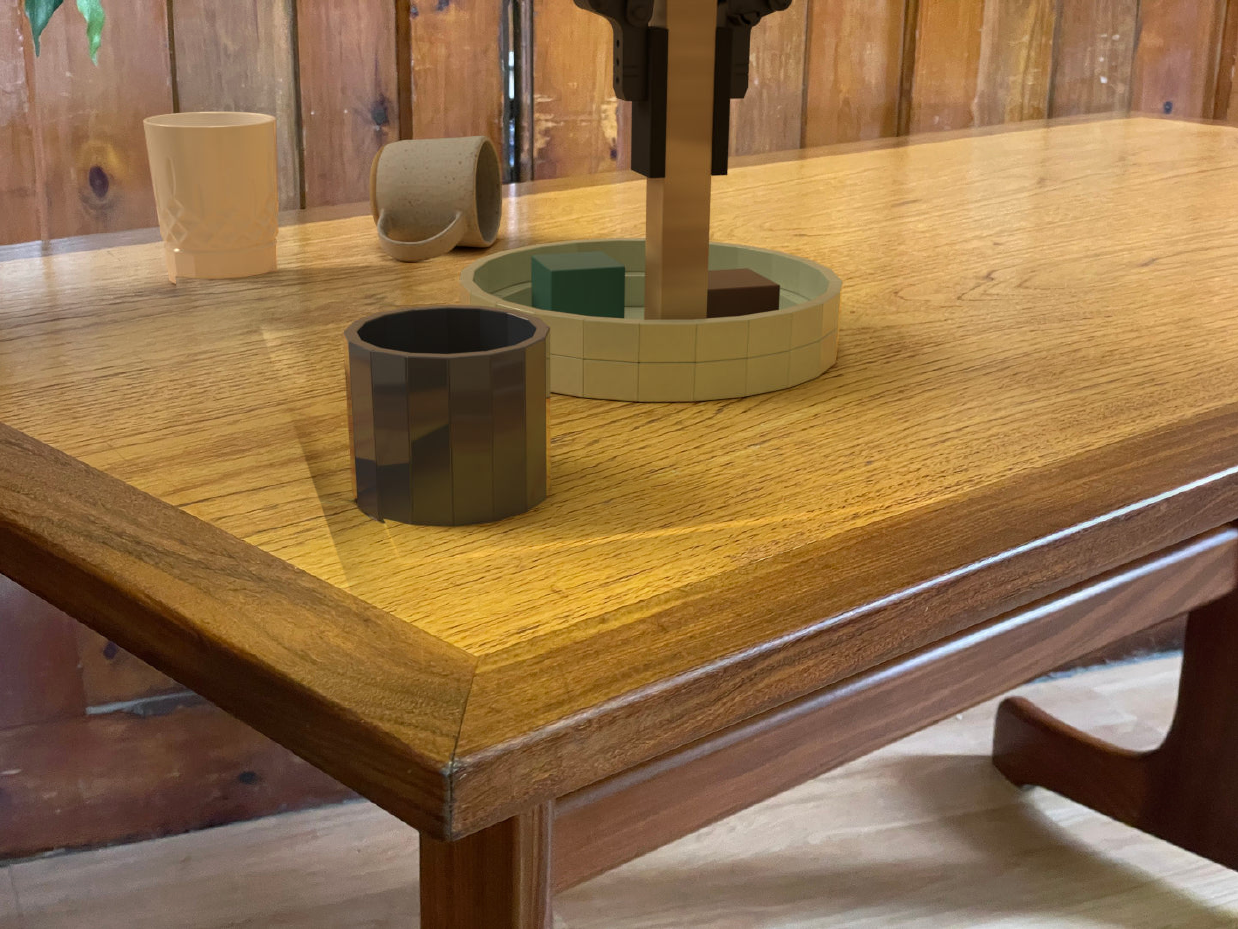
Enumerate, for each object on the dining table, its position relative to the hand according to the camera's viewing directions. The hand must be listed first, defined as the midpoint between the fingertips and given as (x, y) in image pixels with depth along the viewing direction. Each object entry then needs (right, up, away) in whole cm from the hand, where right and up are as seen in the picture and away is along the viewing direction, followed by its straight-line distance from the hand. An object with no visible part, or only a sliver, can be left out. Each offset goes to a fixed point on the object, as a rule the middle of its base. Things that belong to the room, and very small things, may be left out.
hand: (678, 171), depth 65 cm
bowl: (-1, -8, +7) cm, 11 cm away
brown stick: (0, -8, +3) cm, 8 cm away
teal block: (-5, -7, +9) cm, 12 cm away
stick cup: (-9, -15, -12) cm, 21 cm away
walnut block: (+3, -8, +5) cm, 10 cm away
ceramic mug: (-16, +1, +34) cm, 37 cm away
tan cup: (-28, -2, +24) cm, 37 cm away
